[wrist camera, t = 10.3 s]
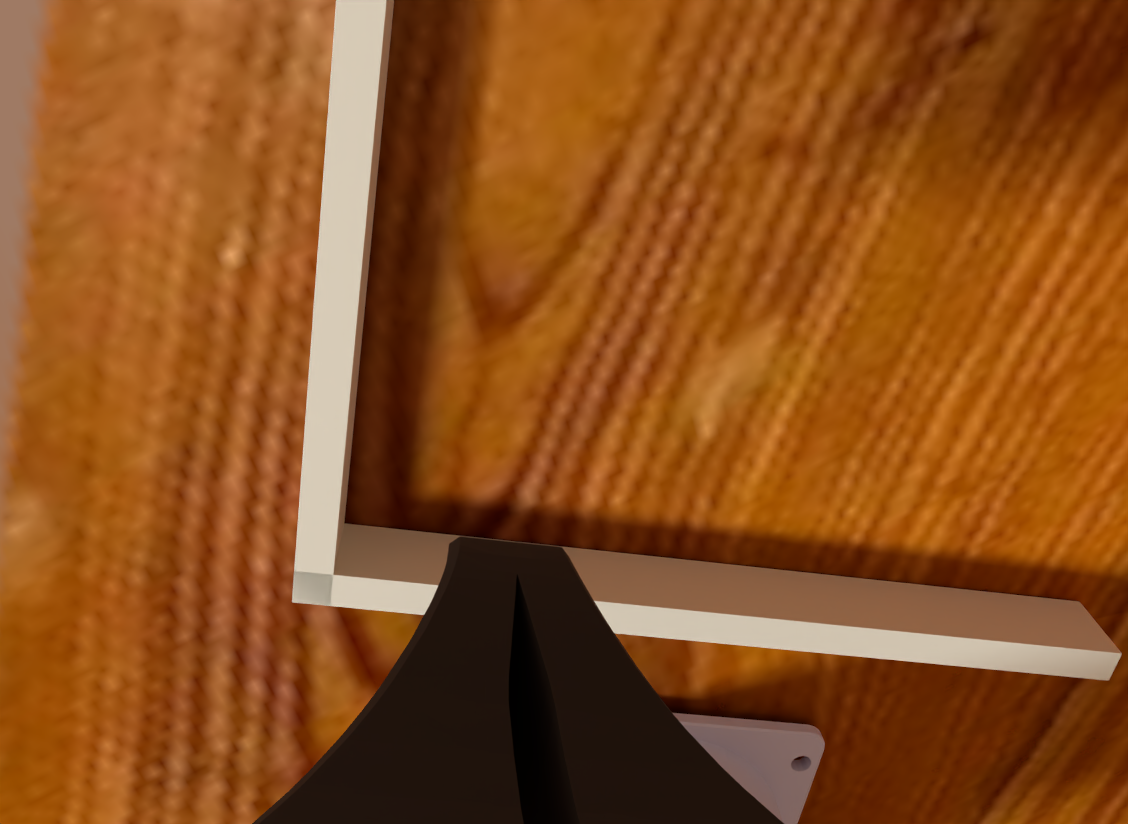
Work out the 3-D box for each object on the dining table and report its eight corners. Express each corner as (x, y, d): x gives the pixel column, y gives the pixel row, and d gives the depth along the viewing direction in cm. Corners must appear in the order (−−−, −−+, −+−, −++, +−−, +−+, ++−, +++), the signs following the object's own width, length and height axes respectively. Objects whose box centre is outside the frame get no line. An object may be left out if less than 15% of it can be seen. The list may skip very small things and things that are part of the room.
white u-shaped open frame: (1067, 627, 27) (1108, 680, 25) (305, 549, 25) (292, 602, 23) (1403, -106, 20) (1495, -103, 18) (374, -323, 17) (361, -345, 16)
